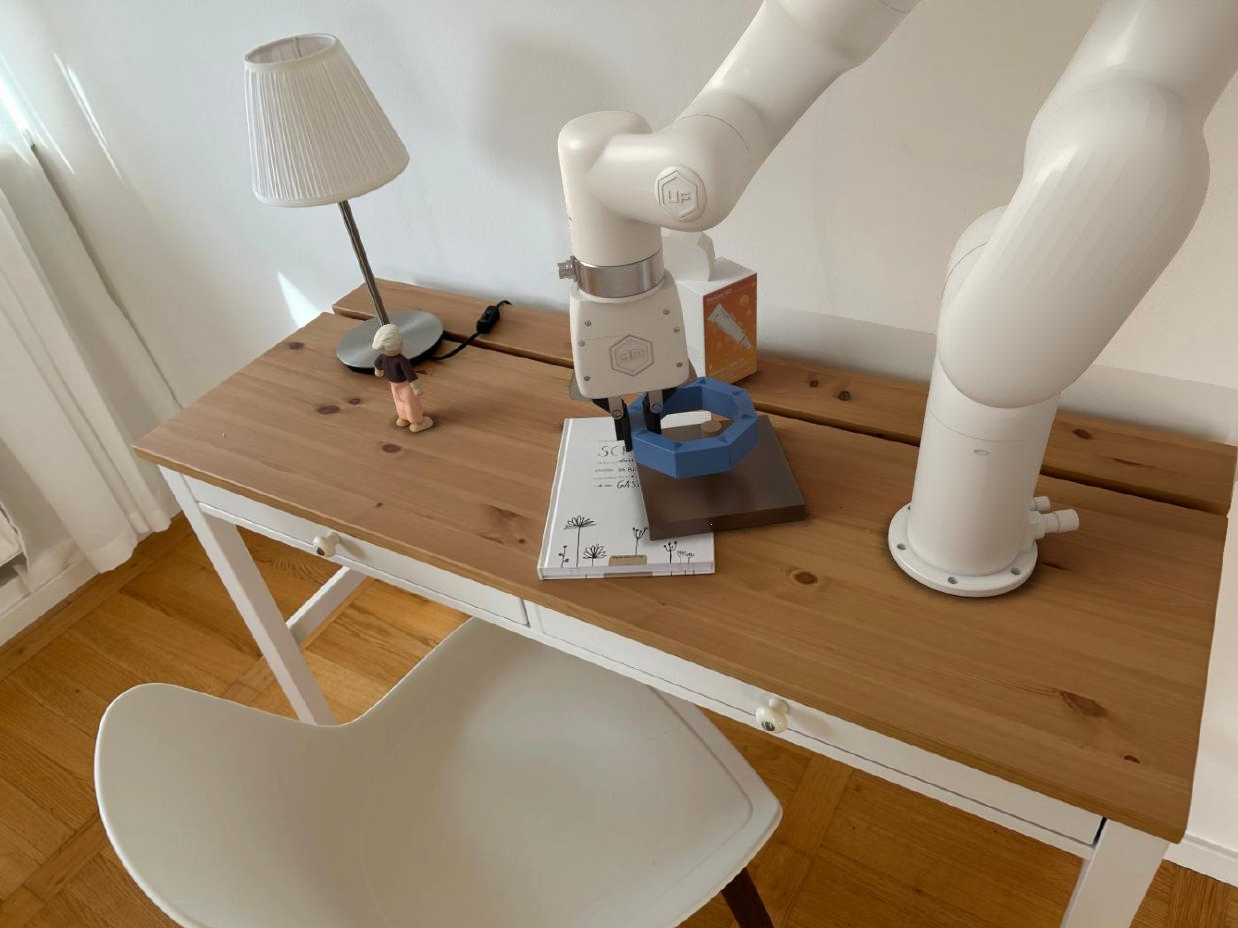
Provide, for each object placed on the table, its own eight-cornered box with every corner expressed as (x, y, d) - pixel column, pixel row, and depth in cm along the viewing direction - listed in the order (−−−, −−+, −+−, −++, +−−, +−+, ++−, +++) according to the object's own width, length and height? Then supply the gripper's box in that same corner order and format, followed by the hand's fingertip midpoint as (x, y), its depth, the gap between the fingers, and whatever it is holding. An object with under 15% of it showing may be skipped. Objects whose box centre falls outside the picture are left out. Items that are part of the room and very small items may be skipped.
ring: (739, 395, 93) (739, 370, 91) (767, 465, 83) (767, 439, 81) (624, 412, 92) (621, 388, 91) (639, 484, 83) (636, 459, 81)
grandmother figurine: (448, 419, 104) (424, 323, 97) (428, 437, 102) (402, 340, 94) (396, 406, 108) (369, 312, 100) (375, 423, 105) (346, 328, 97)
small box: (706, 398, 103) (702, 296, 95) (672, 377, 108) (665, 277, 100) (758, 372, 107) (758, 271, 99) (723, 353, 111) (720, 254, 103)
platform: (767, 429, 98) (768, 375, 94) (804, 519, 86) (808, 462, 82) (630, 447, 97) (625, 393, 93) (649, 540, 86) (645, 484, 81)
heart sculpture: (719, 362, 109) (715, 220, 98) (712, 385, 105) (707, 239, 94) (597, 356, 113) (579, 219, 102) (585, 377, 109) (566, 237, 98)
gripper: (529, 301, 73) (561, 477, 84) (720, 273, 73) (727, 452, 85) (526, 262, 79) (557, 432, 90) (703, 236, 79) (711, 408, 91)
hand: (639, 440), depth 87 cm, fingers closed on ring
